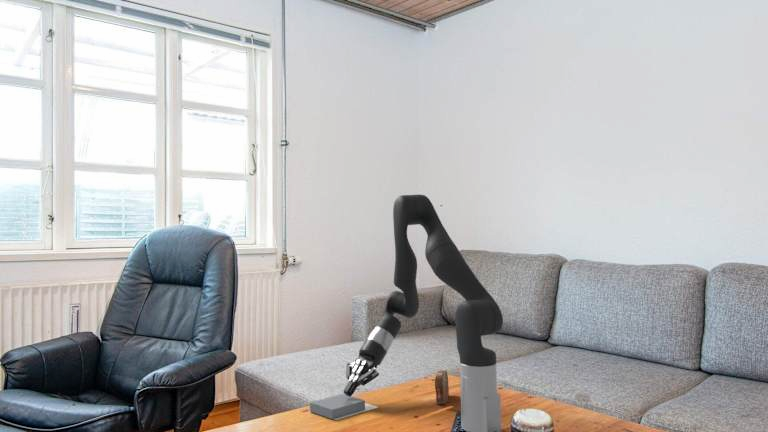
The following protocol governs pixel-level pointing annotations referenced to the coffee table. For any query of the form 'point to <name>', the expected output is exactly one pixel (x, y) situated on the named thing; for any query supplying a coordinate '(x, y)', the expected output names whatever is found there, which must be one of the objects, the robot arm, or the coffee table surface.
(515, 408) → the coffee table surface
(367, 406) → the mat
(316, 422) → the coffee table surface
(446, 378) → the tin
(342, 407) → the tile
